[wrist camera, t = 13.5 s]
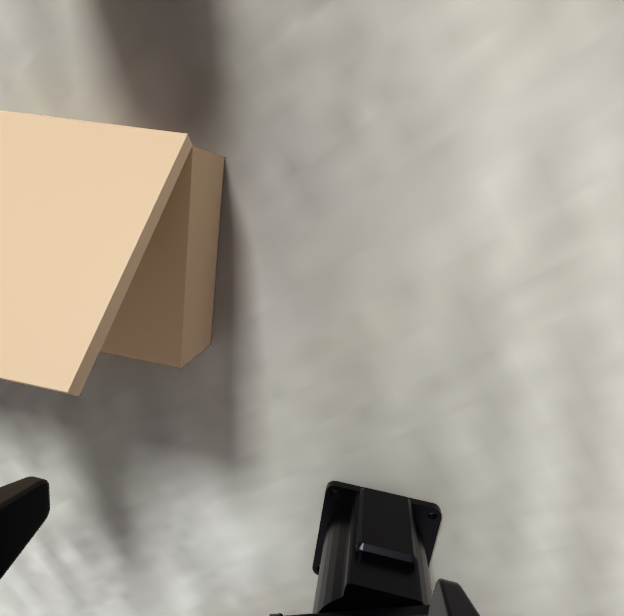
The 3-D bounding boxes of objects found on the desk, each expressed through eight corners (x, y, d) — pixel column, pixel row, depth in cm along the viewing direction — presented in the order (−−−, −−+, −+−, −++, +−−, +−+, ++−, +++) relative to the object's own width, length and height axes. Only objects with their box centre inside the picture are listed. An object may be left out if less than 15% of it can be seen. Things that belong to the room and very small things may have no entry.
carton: (210, 344, 22) (180, 368, 19) (-66, 291, 24) (-136, 304, 21) (224, 157, 20) (192, 145, 16) (-85, 116, 22) (-170, 99, 18)
